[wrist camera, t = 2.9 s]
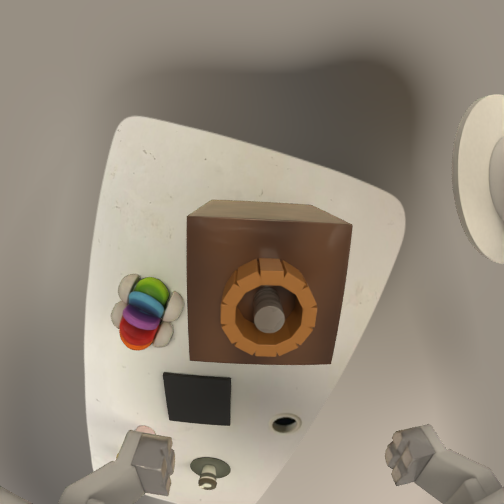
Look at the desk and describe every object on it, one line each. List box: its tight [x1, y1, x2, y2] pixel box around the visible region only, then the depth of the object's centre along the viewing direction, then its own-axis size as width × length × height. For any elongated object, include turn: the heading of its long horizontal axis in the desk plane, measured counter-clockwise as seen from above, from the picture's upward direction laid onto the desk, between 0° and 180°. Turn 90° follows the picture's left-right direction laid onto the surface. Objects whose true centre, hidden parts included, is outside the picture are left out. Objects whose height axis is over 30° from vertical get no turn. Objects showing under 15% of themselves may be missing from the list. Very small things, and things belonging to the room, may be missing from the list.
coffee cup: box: [190, 458, 230, 490], centre depth 45 cm, size 12×12×5 cm
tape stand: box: [187, 200, 352, 365], centre depth 29 cm, size 12×12×18 cm
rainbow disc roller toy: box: [111, 274, 184, 350], centre depth 36 cm, size 8×10×7 cm
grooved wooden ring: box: [220, 258, 317, 357], centre depth 22 cm, size 6×6×3 cm
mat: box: [163, 372, 231, 426], centre depth 43 cm, size 10×10×1 cm
